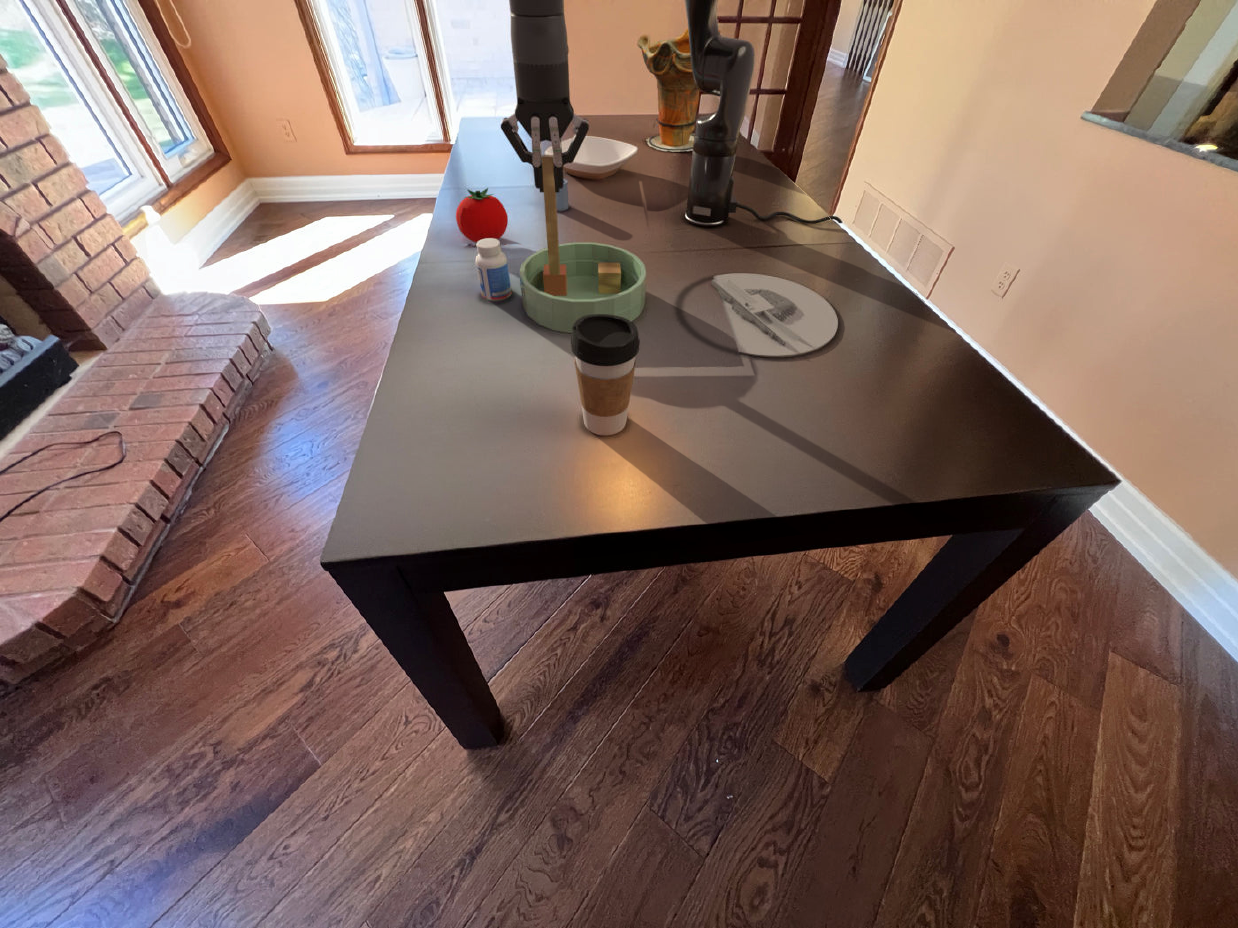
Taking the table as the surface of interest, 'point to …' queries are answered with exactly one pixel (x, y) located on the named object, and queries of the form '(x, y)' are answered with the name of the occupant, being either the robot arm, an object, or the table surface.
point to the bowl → (597, 157)
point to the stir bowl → (582, 285)
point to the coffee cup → (604, 369)
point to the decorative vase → (672, 91)
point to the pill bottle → (492, 270)
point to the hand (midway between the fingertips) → (550, 190)
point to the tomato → (481, 216)
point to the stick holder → (562, 197)
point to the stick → (551, 214)
